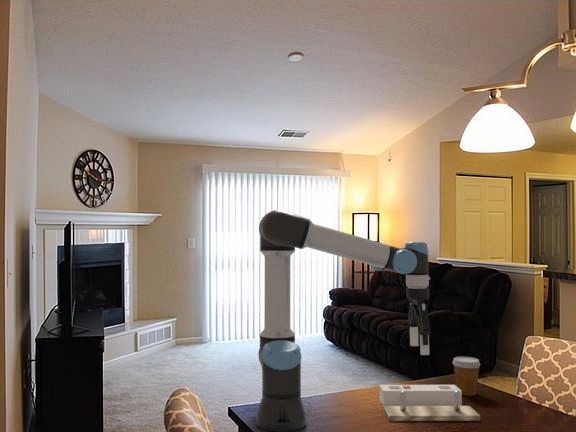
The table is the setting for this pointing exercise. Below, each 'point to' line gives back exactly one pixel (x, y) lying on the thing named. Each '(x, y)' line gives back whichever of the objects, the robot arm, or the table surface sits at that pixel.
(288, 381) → the robot arm
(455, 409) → the chrome knobs
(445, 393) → the power strip
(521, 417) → the table surface
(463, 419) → the hanger board
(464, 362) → the disposable coffee cup
